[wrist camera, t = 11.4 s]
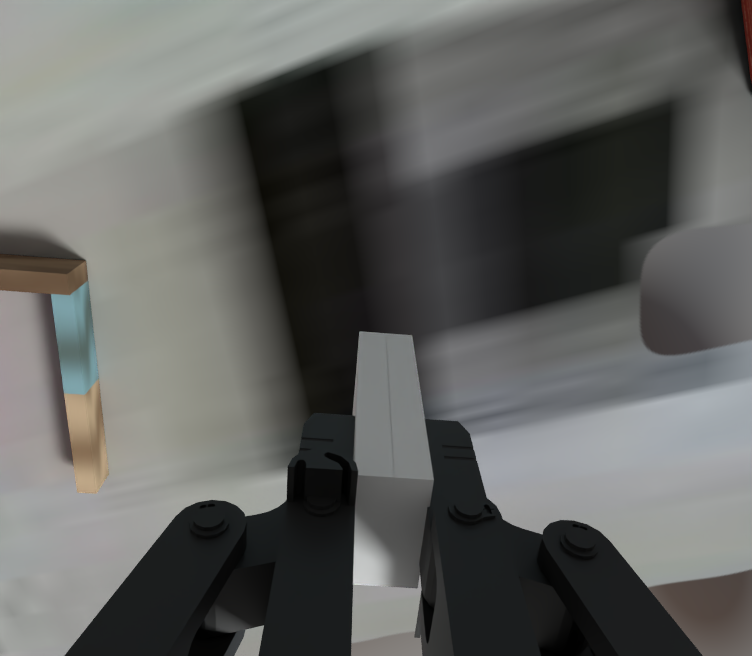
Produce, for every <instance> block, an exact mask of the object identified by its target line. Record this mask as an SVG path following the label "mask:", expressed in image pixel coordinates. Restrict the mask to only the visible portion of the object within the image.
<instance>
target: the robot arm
mask: <svg viewBox="0 0 752 656" xmlns="http://www.w3.org/2000/svg"><path fill="white" fill-rule="evenodd" d="M419 575H420V577H421V587H422V591H421V598H420V604H419V611H418V617H417V624H416V630H415V637H417V638H420V635H421V642H422V654H423V656H702V654H701V653H700V652H699V651H698V649H696V647H695V646H694V644H693V643H692V642H691V641H690V639H689V638H688V637H687V636H686V635H685V633H684V632H683V631H682V630H681V628H680V627H679V626H678V625H677V623H676V622H675V621H674V620H673V619H672V617H671V616H670V615H669V614H668V612H667V611H666V610H665V609H664V607H663V606H662V605H661V604H660V602H659V601H658V600H657V599H656V597H655V596H654V595H653V594H652V593H651V591H650V590H649V589H648V588H647V586H646V585H645V584H644V583H643V581H642V580H641V579H640V578H639V576H638V575H637V574H636V573H635V571H634V570H633V569H632V568H631V567H630V565H629V564H628V563H627V562H626V560H625V559H624V558H623V557H622V555H621V554H620V553H619V552H618V550H617V549H616V548H615V547H614V546H613V544H612V543H611V542H610V541H609V540H608V539H607V538H606V537H605V536H604V535H603V534H602V533H601V532H600V531H598V530H596V529H594V528H592V527H591V526H589V525H587V524H583V523H580V522H576V521H569V520H560V521H556V522H553V523H550V524H549V525H548V526H547V527H546V528H545V529H544V531H543V535H542V534H539V533H535V532H532V531H528V530H525V529H522V528H519V527H516V526H514V525H512V524H510V523H508V522H506V521H504V520H503V519H502V516H501V514H500V512H499V510H498V508H497V506H496V505H495V504H493V503H492V502H491V501H490V500H489V499H487V497H486V494H485V490H484V486H483V482H482V479H481V475H480V471H479V467H478V463H477V461H476V456H475V452H474V450H473V445H472V441H471V437H470V434H469V433H468V431H467V430H466V429H465V428H464V427H463V426H462V425H461V424H460V423H459V422H458V421H444V420H430V419H425V418H424V412H423V405H422V398H421V392H420V385H419V379H418V372H417V365H416V359H415V352H414V345H413V339H412V335H399V334H386V333H373V332H359V344H358V356H357V369H356V381H355V393H354V405H353V416H350V415H336V414H321V413H314V414H313V415H312V416H311V417H310V418H309V419H308V420H307V421H306V422H305V424H304V427H303V432H302V439H301V443H300V450H299V454H298V455H297V456H295V457H294V458H292V460H291V462H290V464H289V465H288V478H287V500H286V501H285V502H284V503H283V504H282V505H280V506H279V507H278V508H275V509H273V510H271V511H269V512H265V513H262V514H257V515H252V516H246V517H245V514H244V512H243V511H242V510H241V509H240V508H238V507H237V506H236V505H234V504H231V503H229V502H226V501H217V500H209V501H203V502H198V503H195V504H193V505H191V506H189V507H186V508H185V509H184V510H182V511H181V512H180V513H179V514H178V515H177V516H176V517H175V518H174V519H173V520H172V522H171V523H170V524H169V525H168V527H167V528H166V529H165V530H164V532H163V533H162V534H161V535H160V537H159V538H158V539H157V540H156V542H155V543H154V544H153V545H152V547H151V548H150V549H149V550H148V552H147V553H146V554H145V555H144V557H143V558H142V559H141V560H140V562H139V563H138V564H137V566H136V567H135V568H134V569H133V571H132V572H131V573H130V574H129V576H128V577H127V578H126V579H125V581H124V582H123V583H122V584H121V586H120V587H119V588H118V589H117V591H116V592H115V593H114V594H113V596H112V597H111V598H110V599H109V601H108V602H107V603H106V604H105V606H104V607H103V608H102V609H101V611H100V612H99V613H98V614H97V616H96V617H95V618H94V619H93V621H92V622H91V623H90V624H89V626H88V627H87V628H86V629H85V631H84V632H83V633H82V634H81V636H80V637H79V638H78V639H77V641H76V642H75V643H74V644H73V646H72V647H71V648H70V649H69V651H68V652H67V653H66V655H65V656H234V655H235V653H236V651H237V649H238V647H239V645H240V643H241V641H242V639H243V637H244V633H245V629H249V628H254V627H258V626H262V625H264V629H263V635H262V640H261V646H260V651H259V656H351V635H352V599H353V585H370V586H388V587H405V588H418V582H419Z"/></svg>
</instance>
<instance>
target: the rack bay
mask: <svg viewBox="0 0 752 656" xmlns="http://www.w3.org/2000/svg"><path fill="white" fill-rule="evenodd" d="M0 290H6V291H19V292H32V293H45V294H51V300H52V307H53V315H54V322H55V330H56V337H57V344H58V352H59V359H60V367H61V374H62V382H63V389H64V397H65V404H66V412H67V419H68V427H69V434H70V442H71V449H72V457H73V464H74V472H75V479H76V487H77V492H78V493H94V494H97V492H98V491H99V489H100V487H101V486H102V484H103V483H104V481H105V479H106V478H107V476H108V475H109V472H108V462H107V453H106V444H105V434H104V425H103V416H102V406H101V397H100V387H99V378H98V369H97V359H96V350H95V341H94V331H93V322H92V313H91V303H90V294H89V285H88V275H87V266H86V261H85V260H72V259H59V258H46V257H33V256H20V255H8V254H0Z"/></svg>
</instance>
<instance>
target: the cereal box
mask: <svg viewBox="0 0 752 656" xmlns="http://www.w3.org/2000/svg"><path fill="white" fill-rule="evenodd" d="M741 6H742V13H743V21H744V30H745V38H746V44H747V53H748V61H749V70H750V78H751V84H752V0H741Z"/></svg>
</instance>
